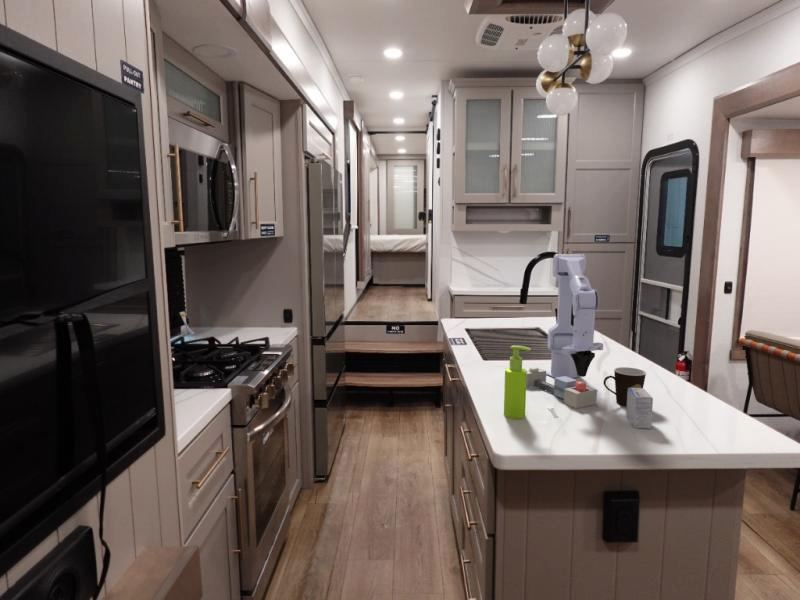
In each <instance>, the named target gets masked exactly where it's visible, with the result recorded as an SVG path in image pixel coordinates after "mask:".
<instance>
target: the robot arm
mask: <svg viewBox="0 0 800 600" xmlns="http://www.w3.org/2000/svg"><path fill="white" fill-rule="evenodd" d="M586 267H587V257H586V255H585V254H584V253H579V254H577V253H575V254H572V253H571V254H569V253H566V254H565V253H563V254H562V253H560V254H559V253H556V254H554V255H553V260H552V276H553V277H554V278H556V279H557V281H558V287H557V289H558V290H557V291H558V292H557V293H558V294H557V319H556V323H555V324H554V325H552V326H551V327H550V328H548V329H549V330H548V334H547V339H546V341H547V342H546V343H547V349H548V350H549V351H551V357H550V358H551V362H550V363H551V364H550V371H549V372H548V371H547V372H546V376H550V377H552V378H553V379H555V378H557V377H563V376H567V377H569V378H572V379H575V378H580V377H581V378H584V377H586V376H587V373H588V370H589V367H590V364H591V363H592V361H593V360H594V358H595V356H596V353H595V352H594V351H603V350H604V343H603V342H594V337H595V323H596V322H595V321H596V320H595V319H596V311H597V310H598V307H599V294H598V290H596V289H594V288H592V286H591V282H590V281H589V279H588V277H587V276H586V275H584V272H585V271H586ZM572 315H573V325H572Z"/></svg>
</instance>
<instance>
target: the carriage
mask: <svg viewBox="0 0 800 600" xmlns="http://www.w3.org/2000/svg"><path fill="white" fill-rule="evenodd" d="M553 381H554V382H553V385H554V394H553V395H554V396H556V397H558V398H561V399H563V400H564V389H566V388H572V387H576V382H577V381H578V380H577V379H575V378H569V377H567V376H563V377H557V378H554V380H553Z"/></svg>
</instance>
